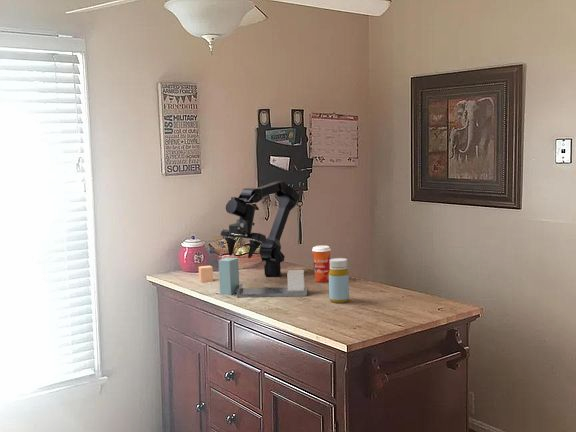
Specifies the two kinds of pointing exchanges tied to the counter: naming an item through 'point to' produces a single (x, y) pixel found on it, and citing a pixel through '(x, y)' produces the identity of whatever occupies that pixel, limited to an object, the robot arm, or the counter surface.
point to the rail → (293, 289)
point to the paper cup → (321, 263)
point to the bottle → (338, 280)
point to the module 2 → (228, 275)
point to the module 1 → (205, 274)
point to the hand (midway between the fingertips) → (239, 256)
